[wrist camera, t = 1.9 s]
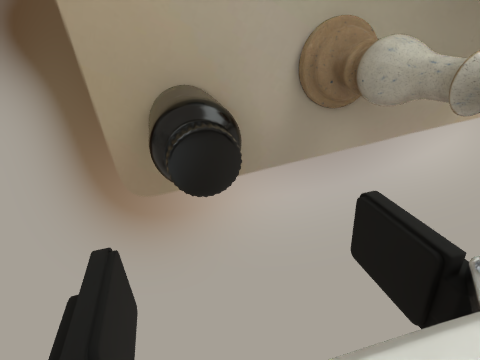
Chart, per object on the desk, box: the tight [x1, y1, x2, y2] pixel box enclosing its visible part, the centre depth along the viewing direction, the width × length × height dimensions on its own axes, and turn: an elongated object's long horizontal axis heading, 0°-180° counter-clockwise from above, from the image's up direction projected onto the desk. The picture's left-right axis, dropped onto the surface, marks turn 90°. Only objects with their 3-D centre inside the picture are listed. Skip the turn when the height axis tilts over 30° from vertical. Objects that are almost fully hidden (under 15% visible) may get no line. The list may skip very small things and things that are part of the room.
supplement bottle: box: [149, 85, 242, 197], centre depth 23 cm, size 7×7×12 cm
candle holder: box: [299, 15, 480, 116], centre depth 22 cm, size 9×9×20 cm
